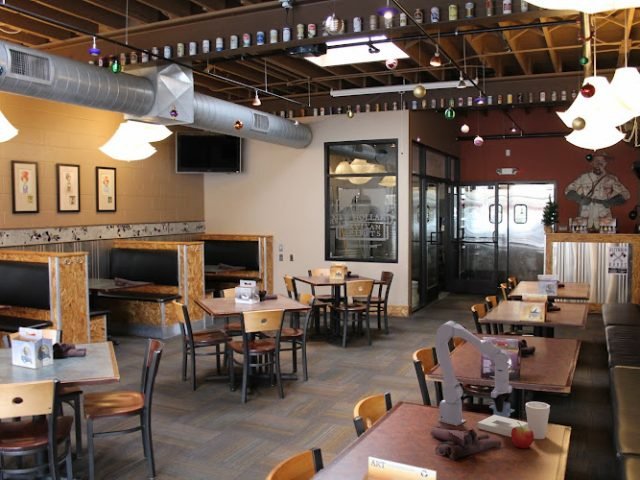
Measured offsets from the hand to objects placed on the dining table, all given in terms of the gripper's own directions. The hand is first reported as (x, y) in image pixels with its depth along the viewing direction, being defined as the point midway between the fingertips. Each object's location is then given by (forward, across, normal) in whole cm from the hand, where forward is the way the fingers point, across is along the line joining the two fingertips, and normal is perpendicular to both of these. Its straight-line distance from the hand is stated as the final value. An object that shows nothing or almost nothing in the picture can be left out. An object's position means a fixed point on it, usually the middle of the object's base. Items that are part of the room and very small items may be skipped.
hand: (501, 410), depth 269 cm
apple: (+8, -13, -16) cm, 22 cm away
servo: (+2, 0, 0) cm, 2 cm away
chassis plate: (+8, +1, 0) cm, 8 cm away
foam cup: (+8, +2, -15) cm, 17 cm away
